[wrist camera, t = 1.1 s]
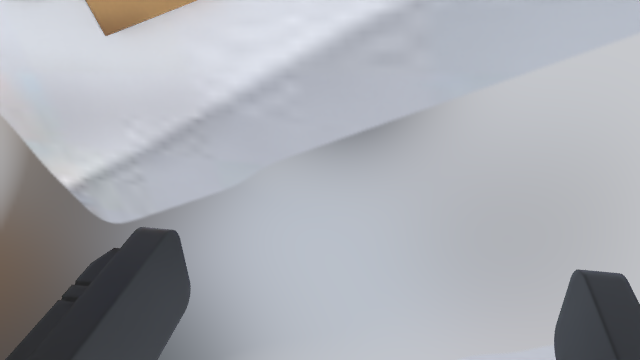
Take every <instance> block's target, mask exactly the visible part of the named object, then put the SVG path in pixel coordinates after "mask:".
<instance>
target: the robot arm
mask: <svg viewBox="0 0 640 360" xmlns="http://www.w3.org/2000/svg"><path fill="white" fill-rule="evenodd" d="M189 297H190V280H189V276H188V272H187V267H186V263H185V259H184V254H183V250H182V246H181V241H180V238H179V235H178V233H177V232H176V231H174V230H168V229H158V228H157V229H156V228H146V227H140V228H138V229H137V230H135V231H134V233H133V234H132V235H131V236H130V237H129V239H128V240H127V241H126V242H125V243H124V244H123V246H122V247H121V248H113V249H112V250H110V251H109V252H107V253H106V254H104V255H103V256H101V257H100V258H98V259H97V260H95V261H94V262H92V263H91V264H90V265H89V266H88V267H87V269H86V270H85V271H84V272H83V273H82V274H81V275H80V276H79V278H78V279H77V280H76V283H75V285H71V287H70V288H69V289H68V290H67V291H66V292H65V293H64V294H63V296H62V299H61V300H58V301H57V302H56V303H55V305H54V306H53V307H52V308H51V309H50V310H49V311H48V312H47V314H46V315H45V316H44V317H43V318H42V319H41V320H40V321H39V322H38V324H37V325H36V326H35V327H34V328H33V329H32V330H31V331H30V333H29V334H28V335H27V336H26V337H25V338H24V339H23V340H22V342H21V343H20V344H19V345H18V346H17V347H16V348H15V350H14V351H13V352H12V353H11V354H10V355H9V356H8V357H7V358H6V359H5V360H157V359H158V358H159V356H160V354H161V352H162V351H163V349H164V347H165V345H166V344H167V342H168V340H169V338H170V337H171V335H172V333H173V331H174V330H175V328H176V326H177V324H178V323H179V321H180V319H181V317H182V316H183V314H184V312H185V310H186V308H187V305H188V302H189ZM554 348H555V356H556V360H640V304H639V302H638V300H637V298H636V296H635V295H634V292H633V290H632V288H631V286H630V284H629V282H628V280H627V279H626V277H625V276H623V275H622V274H620V273H609V272H599V271H588V270H576V271H574V273H573V274H572V277H571V279H570V282H569V286H568V289H567V292H566V296H565V298H564V302H563V305H562V308H561V311H560V315H559V318H558V321H557V324H556V328H555V337H554Z"/></svg>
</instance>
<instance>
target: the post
mask: <svg viewBox="0 0 640 360" xmlns="http://www.w3.org/2000/svg"><path fill="white" fill-rule="evenodd" d="M194 1H197V0H86V2H87V4H88V5H89V7H90V9H91V11H92V13H93V14H94V16H95V18H96V20H97V22H98V24H99V25H100V27H101V29H102V31H103V33H104V34H105V36H108V35H110V34H113V33H115V32H118V31H121V30H123V29H126V28H128V27H131V26H133V25H136V24H138V23H141V22H143V21H146V20H148V19H151V18H154V17H156V16H159V15H161V14H164V13H166V12H169V11H171V10H174V9H176V8H179V7H182V6H184V5H187V4H189V3H192V2H194Z"/></svg>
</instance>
